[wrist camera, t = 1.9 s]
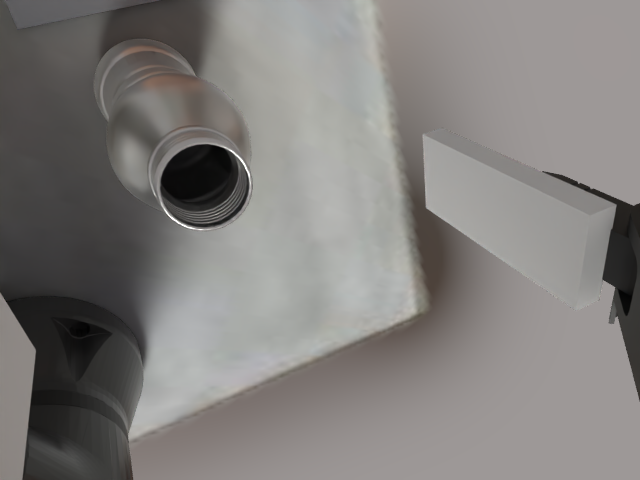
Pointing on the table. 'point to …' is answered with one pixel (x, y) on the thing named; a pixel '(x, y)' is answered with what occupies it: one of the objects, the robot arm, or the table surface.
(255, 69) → the table surface
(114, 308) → the table surface
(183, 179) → the silver bottle
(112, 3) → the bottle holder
